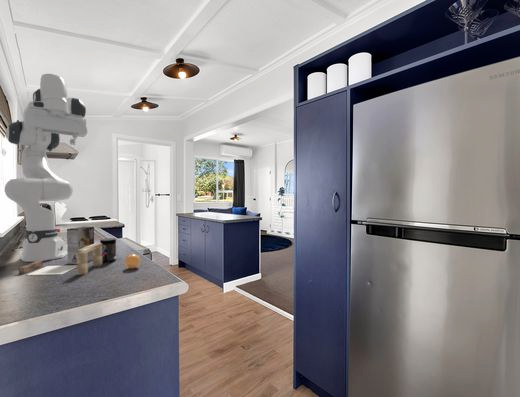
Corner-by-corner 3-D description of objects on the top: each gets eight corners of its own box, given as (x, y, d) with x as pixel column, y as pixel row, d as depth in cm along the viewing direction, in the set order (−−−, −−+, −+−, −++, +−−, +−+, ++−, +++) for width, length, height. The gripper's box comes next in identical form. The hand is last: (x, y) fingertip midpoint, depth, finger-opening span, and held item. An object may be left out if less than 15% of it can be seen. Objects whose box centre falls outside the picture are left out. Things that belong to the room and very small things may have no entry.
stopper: (37, 266, 119) (37, 260, 119) (42, 266, 119) (42, 260, 119) (18, 274, 108) (18, 267, 108) (24, 274, 109) (24, 267, 108)
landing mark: (47, 266, 120) (47, 265, 120) (79, 265, 121) (79, 265, 121) (26, 275, 107) (26, 274, 107) (62, 274, 108) (62, 273, 108)
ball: (127, 266, 121) (127, 253, 120) (142, 266, 121) (142, 252, 121) (122, 270, 115) (122, 256, 114) (137, 270, 115) (137, 255, 115)
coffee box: (83, 259, 134) (83, 226, 133) (94, 259, 132) (94, 226, 132) (66, 263, 125) (66, 228, 124) (78, 264, 123) (78, 229, 123)
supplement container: (103, 259, 132) (102, 238, 132) (118, 259, 134) (118, 237, 134) (97, 263, 126) (97, 240, 126) (113, 262, 127) (113, 240, 127)
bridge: (77, 274, 108) (77, 250, 108) (95, 264, 123) (95, 243, 123) (85, 274, 109) (85, 250, 108) (102, 264, 123) (102, 243, 123)
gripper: (83, 120, 120) (86, 149, 117) (21, 109, 105) (23, 142, 102) (87, 112, 116) (91, 142, 113) (24, 100, 101) (26, 134, 98)
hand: (58, 142), depth 107 cm, fingers open, 8 cm apart
